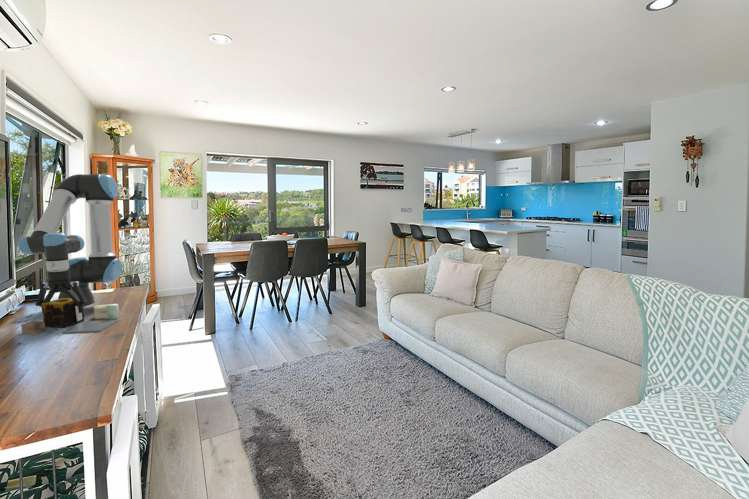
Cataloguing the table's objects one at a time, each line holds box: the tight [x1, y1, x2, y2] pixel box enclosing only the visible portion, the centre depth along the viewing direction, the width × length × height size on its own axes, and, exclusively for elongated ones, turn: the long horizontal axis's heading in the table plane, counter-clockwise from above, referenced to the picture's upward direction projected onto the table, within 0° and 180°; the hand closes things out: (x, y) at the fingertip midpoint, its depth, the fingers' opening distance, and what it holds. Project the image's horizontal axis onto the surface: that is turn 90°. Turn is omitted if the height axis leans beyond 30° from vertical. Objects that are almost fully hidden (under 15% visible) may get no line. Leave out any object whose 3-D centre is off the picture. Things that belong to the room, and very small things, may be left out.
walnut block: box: [20, 320, 46, 336], centre depth 161 cm, size 5×5×4 cm
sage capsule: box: [106, 303, 120, 320], centre depth 178 cm, size 4×4×6 cm
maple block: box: [93, 303, 109, 320], centre depth 181 cm, size 5×5×5 cm
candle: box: [41, 298, 85, 328], centre depth 171 cm, size 10×10×10 cm
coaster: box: [61, 319, 119, 334], centre depth 167 cm, size 14×14×1 cm
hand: (64, 320), depth 171 cm, fingers closed on candle, 11 cm apart
